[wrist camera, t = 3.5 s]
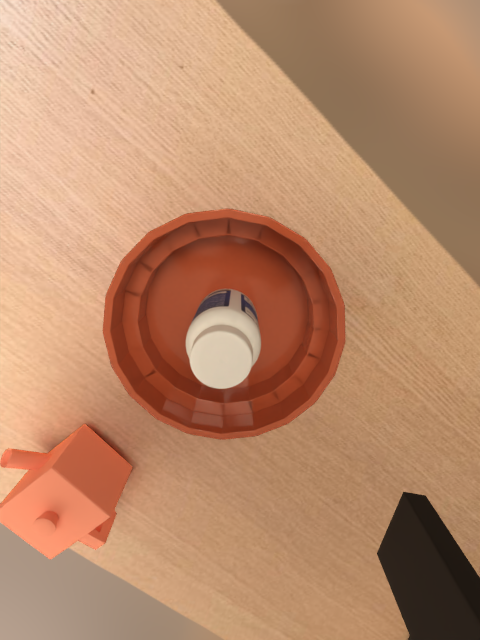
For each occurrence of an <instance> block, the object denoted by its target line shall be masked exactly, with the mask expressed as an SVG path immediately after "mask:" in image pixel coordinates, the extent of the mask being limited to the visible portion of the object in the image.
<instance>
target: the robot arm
mask: <svg viewBox="0 0 480 640" xmlns="http://www.w3.org/2000/svg"><path fill="white" fill-rule="evenodd" d="M377 555H378V557H379V560H380V562H381V565H382V567H383V570H384V572H385V575H386V577H387V580H388V582H389V585H390V587H391V590H392V592H393V595H394V597H395V600H396V602H397V605H398V607H399V610H400V612H401V615H402V617H403V620H404V622H405V624H406V627H407V629H408V632H409V634H410V637H411V639H412V640H480V578H479V576H478V575H477V573H476V572H475V570H474V568H473V567H472V565H471V564H470V562H469V561H468V559H467V558H466V556H465V555H464V553H463V552H462V550H461V549H460V547H459V546H458V544H457V543H456V541H455V540H454V538H453V537H452V535H451V534H450V532H449V530H448V529H447V527H446V526H445V524H444V523H443V521H442V520H441V518H440V517H439V515H438V514H437V512H436V511H435V509H434V508H433V506H432V505H431V503H430V502H429V500H428V499H427V497H426V496H424V495H419V494H413V493H407V492H403V494H402V497H401V499H400V501H399V504H398V506H397V508H396V510H395V513H394V515H393V517H392V520H391V522H390V524H389V527H388V529H387V531H386V534H385V536H384V538H383V541H382V543H381V545H380V548H379V550H378V552H377Z"/></svg>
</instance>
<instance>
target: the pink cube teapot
mask: <svg viewBox="0 0 480 640" xmlns="http://www.w3.org/2000/svg"><path fill="white" fill-rule="evenodd" d="M0 465H1V467H4V468H16V469H28V472H27V473H26V474H25V475H24V476H23V478H22V479H21V480H20V481H19V482H18V483H17V485H16V486H15V487H14V488H13V489H12V491H11V492H10V493H9V494H8V495H7V497H6V498H5V499H4V500H3V501H2V503H1V504H0V522H1V523H2V524H4V525H5V526H6V527H8V528H9V529H10V530H12V531H13V532H14V533H15V534H17V535H18V536H20V537H21V538H22V539H23V540H25V541H26V542H27V543H29V544H30V545H32V546H33V547H34V548H35V549H37V550H38V551H39V552H41V553H42V554H43V555H45V556H46V557H47V558H49V559H52V558H54V557H55V556H57V555H58V554H59V553H61V552H62V551H64V550H65V549H67V548H68V547H70V546H71V545H72V544H74V543H75V542H77V541H80V542H82V543H83V544H85V545H87V546H89V547H91V548H93V549H95V550H96V549H98V548H99V547H100V546H102V545H103V544H105V543H106V540H107V537H108V535H109V532H110V530H111V527H112V524H113V522H114V519H115V516H116V514H117V513H116V512H115V510H114V509H115V507H116V505H117V502H118V500H119V498H120V496H121V493H122V491H123V489H124V486H125V484H126V482H127V479H128V477H129V475H130V472H131V470H132V468H133V467H132V466H131V465H130V464H129V463H128V462H127V461H126V460H125V459H124V458H122V457H121V456H120V455H119V454H118V453H117V452H116V451H115V450H114V449H112V448H111V447H110V446H109V445H108V444H107V443H106V442H105V441H104V440H102V439H101V438H100V437H99V436H98V435H97V434H96V433H95V432H94V431H92V430H91V429H90V428H89V427H88V426H87V425H86V424H83V425H82V426H81V427H80V428H78V429H77V430H76V431H75V432H73V433H72V434H71V435H70V436H69V437H67V438H66V439H65V440H64V441H62V442H61V443H60V444H59V445H57V446H56V447H55V448H54V449H52V450H51V451H50V452H49V453H47V454H46V453H39V452H31V451H24V450H17V449H10V448H8V449H7V450H5V452H4V453H3V455H2V457H1V461H0Z"/></svg>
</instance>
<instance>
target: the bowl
mask: <svg viewBox="0 0 480 640" xmlns="http://www.w3.org/2000/svg"><path fill="white" fill-rule="evenodd" d="M219 289H233V290H237V291H239V292H241V293H243V294H245V295H246V296H247V297H248V298H249V299H250V300H251V302H252V303H253V305H254V307H255V309H256V313H257V318H258V324H259V330H260V335H261V350H260V354H259V357H258V359H257V361H256V362H255V364H254V365H253V366H252V368H251V370H250V372H249V374H248V376H247V377H246V378H245V379H244V380H243V381H242V382H241V383H239V384H238V385H236V386H233V387H230V388H225V389H217V388H213V387H209V386H207V385H205V384H203V383H202V382H201V381H199V380H198V379H197V378H196V376H195V375H194V373H193V371H192V369H191V366H190V359H189V357H188V354H187V351H186V336H187V332H188V329H189V327H190V325H191V322H192V320H193V318H194V316H195V314H196V312H197V309H198V307H199V305H200V304H201V302H202V301H203V299H204V298H205V297H206V296H207V295H209V294H210V293H212V292H214V291H216V290H219ZM103 335H104V339H105V343H106V347H107V351H108V355H109V359H110V362H111V366H112V368H113V370H114V371H115V373H116V375H117V376H118V378H119V379H120V381H121V383H122V384H123V386H124V387H125V389H126V391H127V392H128V394H129V395H130V396H131V397H132V398H133V399H134V400H135V401H136V402H137V403H139V404H140V405H141V406H142V407H143V408H144V409H145V410H147V411H148V412H149V413H150V414H151V415H152V416H153V417H155V418H157V420H160V421H162V422H164V423H166V424H168V425H170V426H172V427H174V428H177V429H179V430H181V431H183V432H185V433H188V434H192V435H198V436H204V437H210V438H215V439H232V438H243V437H253V436H258V435H260V434H263V433H265V432H268V431H270V430H273V429H276V428H278V427H281V426H283V425H286V424H287V423H289V422H291V421H292V420H293V419H295V418H296V417H297V416H299V415H300V414H301V413H303V412H304V411H305V410H306V409H308V408H309V407H310V406H312V405H313V404H314V403H315V402H316V401H317V399H318V398H319V397H320V395H321V394H322V392H323V391H324V390H325V388H326V387H327V385H328V384H329V383H330V381H331V380H332V378H333V377H334V376H335V373H336V370H337V367H338V364H339V360H340V357H341V354H342V351H343V348H344V344H345V305H344V302H343V299H342V296H341V294H340V291H339V289H338V286H337V283H336V281H335V278H334V275H333V273H332V270H331V269H330V267H329V266H328V265H327V263H326V262H325V261H324V260H323V259H322V258H321V256H320V255H319V254H318V253H317V252H316V250H315V249H314V248H313V247H312V246H311V245H310V243H309V242H308V241H307V240H306V239H305V238H304V237H302V236H301V235H299V234H297V233H296V232H294V231H292V230H290V229H289V228H287V227H285V226H284V225H282V224H280V223H279V222H277V221H275V220H274V219H272V218H270V217H267V216H262V215H257V214H253V213H248V212H243V211H238V210H234V209H219V210H211V211H203V212H194V213H187V214H184V215H182V216H180V217H178V218H176V219H174V220H172V221H170V222H168V223H166V224H164V225H162V226H160V227H158V228H156V229H154V230H152V231H150V232H148V233H147V234H146V235H145V237H144V238H143V239H142V240H141V241H140V242H139V243H138V244H137V245H136V246H135V247H134V248H133V249H132V250H131V251H130V252H129V253H128V254H127V255H126V256H125V257H124V258H123V259H122V261H121V262H120V265H119V267H118V269H117V271H116V273H115V276H114V278H113V280H112V282H111V284H110V287H109V289H108V291H107V293H106V298H105V310H104V322H103Z"/></svg>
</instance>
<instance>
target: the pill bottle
mask: <svg viewBox="0 0 480 640" xmlns="http://www.w3.org/2000/svg"><path fill="white" fill-rule="evenodd" d="M260 350H261V335H260V330H259V324H258V318H257V313H256V309H255V307H254V305H253V303H252V302H251V300H250V299H249V298H248V297H247V296H246V295H245V294H243V293H241V292H239V291H237V290H233V289H219V290H216V291H214V292H212V293H210V294H209V295H207V296H206V297H205V298H204V299H203V301H202V302H201V304H200V305H199V307H198V309H197V312H196V314H195V316H194V318H193V320H192V322H191V325H190V327H189V329H188V332H187V336H186V351H187V354H188V357H189V359H190V366H191V369H192V371H193V373H194V375H195V376H196V378H197V379H198V380H199V381H201V382H202V383H203V384H205V385H207V386H209V387H213V388H217V389H225V388H230V387H233V386H236V385H238V384H239V383H241V382H242V381H243V380H244V379H245V378H246V377H247V376H248V374H249V372H250V370H251V368H252V366H253V365H254V364H255V362H256V361H257V359H258V357H259V354H260Z"/></svg>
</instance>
